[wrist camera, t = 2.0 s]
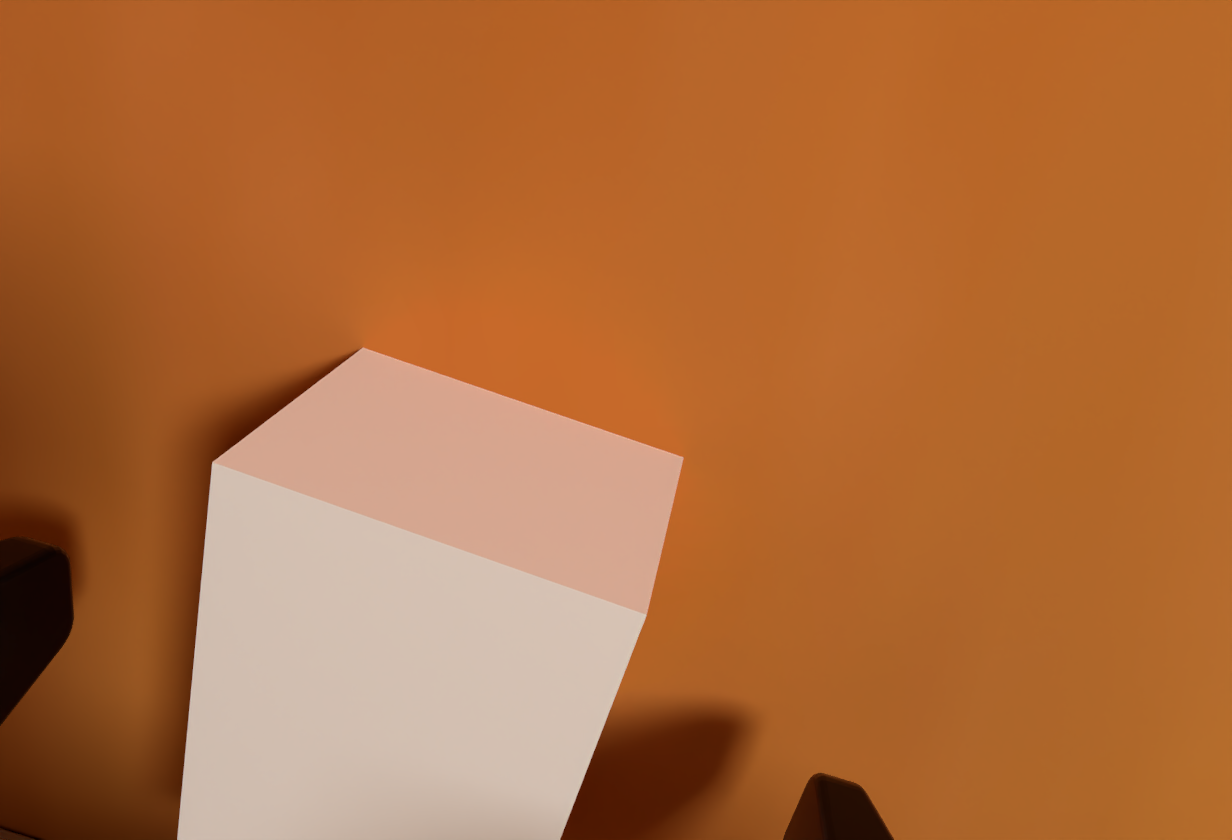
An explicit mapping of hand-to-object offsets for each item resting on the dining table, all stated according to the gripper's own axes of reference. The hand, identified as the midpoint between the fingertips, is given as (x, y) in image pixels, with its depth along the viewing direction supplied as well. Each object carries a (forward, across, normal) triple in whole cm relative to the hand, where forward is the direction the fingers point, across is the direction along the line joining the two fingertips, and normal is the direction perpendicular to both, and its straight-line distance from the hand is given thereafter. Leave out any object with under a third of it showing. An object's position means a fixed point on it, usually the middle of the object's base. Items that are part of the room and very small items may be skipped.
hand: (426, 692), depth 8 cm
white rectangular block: (+1, 0, 0) cm, 1 cm away
